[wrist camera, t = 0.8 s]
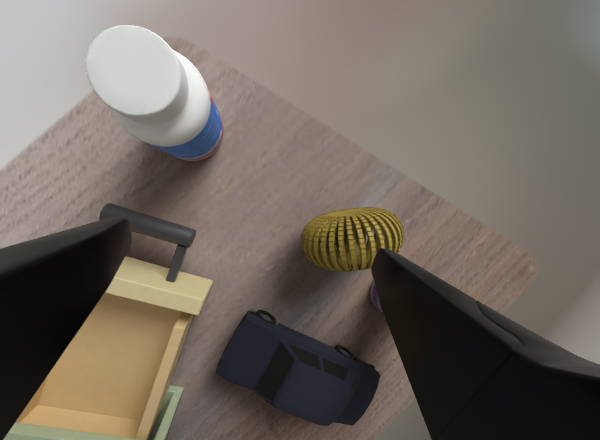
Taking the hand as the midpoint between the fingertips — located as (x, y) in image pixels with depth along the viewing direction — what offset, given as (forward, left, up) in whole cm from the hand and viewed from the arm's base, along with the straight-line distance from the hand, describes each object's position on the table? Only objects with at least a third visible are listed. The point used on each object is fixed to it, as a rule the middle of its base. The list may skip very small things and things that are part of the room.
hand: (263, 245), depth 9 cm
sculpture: (+1, -7, -14) cm, 16 cm away
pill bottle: (+5, +8, -14) cm, 17 cm away
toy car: (-12, -8, -14) cm, 20 cm away
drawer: (-11, +7, -13) cm, 19 cm away
